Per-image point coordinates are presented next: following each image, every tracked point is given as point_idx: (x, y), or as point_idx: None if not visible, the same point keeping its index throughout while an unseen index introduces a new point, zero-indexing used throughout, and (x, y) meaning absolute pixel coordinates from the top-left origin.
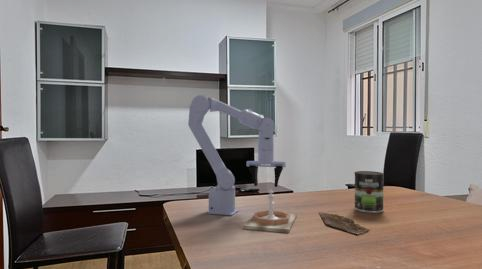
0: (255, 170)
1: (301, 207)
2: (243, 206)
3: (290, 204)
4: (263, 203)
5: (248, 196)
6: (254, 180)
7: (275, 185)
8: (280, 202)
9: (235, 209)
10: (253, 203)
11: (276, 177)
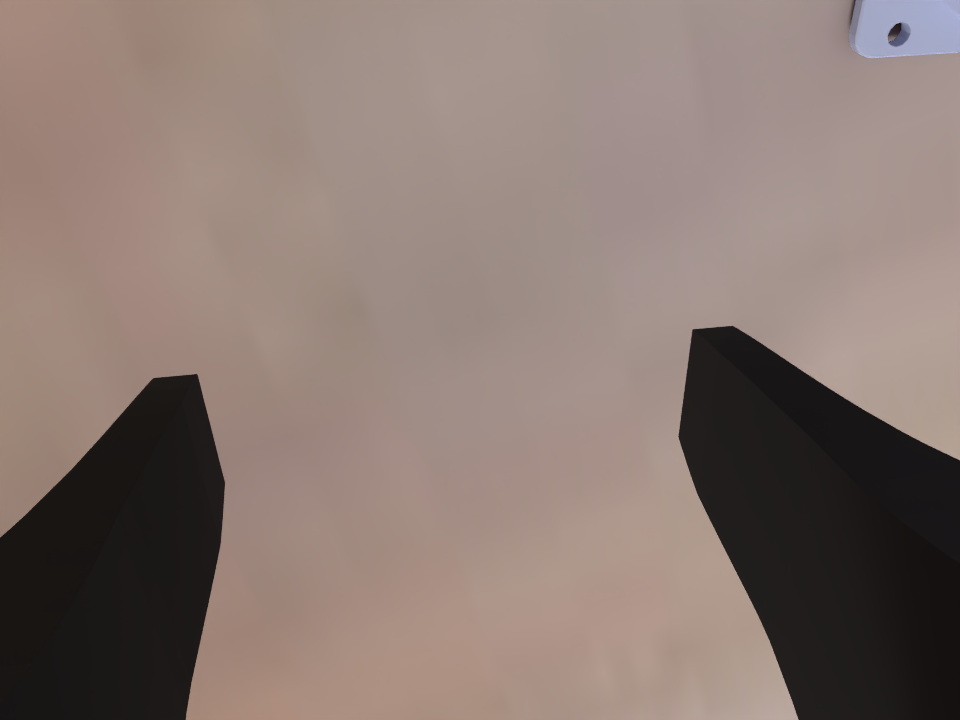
0: (932, 654)
1: (13, 514)
2: (798, 308)
3: (214, 588)
4: (560, 523)
5: (792, 710)
6: (797, 387)
7: (163, 392)
8: (367, 623)
9: (908, 11)
10: (686, 483)
11: (47, 534)
